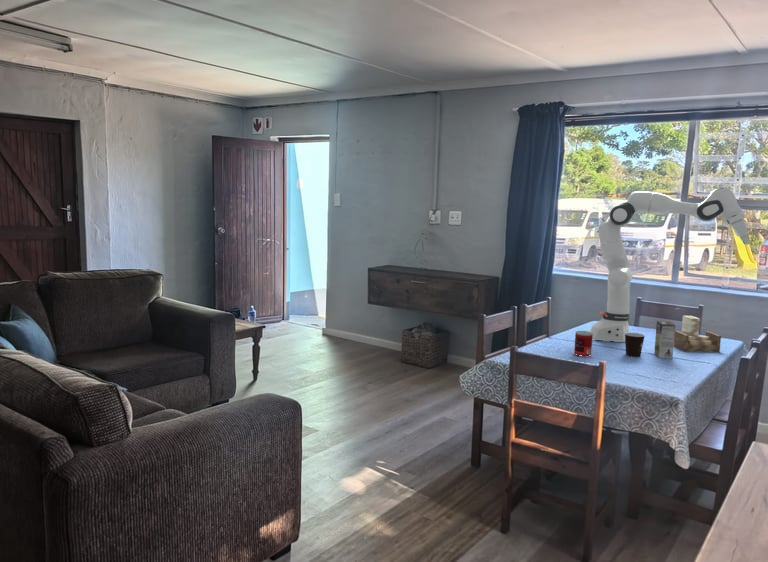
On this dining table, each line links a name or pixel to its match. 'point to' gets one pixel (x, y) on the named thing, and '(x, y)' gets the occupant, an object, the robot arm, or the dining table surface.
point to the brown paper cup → (634, 344)
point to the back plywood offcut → (698, 338)
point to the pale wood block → (690, 325)
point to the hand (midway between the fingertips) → (747, 244)
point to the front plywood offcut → (699, 342)
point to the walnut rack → (682, 344)
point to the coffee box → (664, 339)
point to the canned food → (583, 343)
